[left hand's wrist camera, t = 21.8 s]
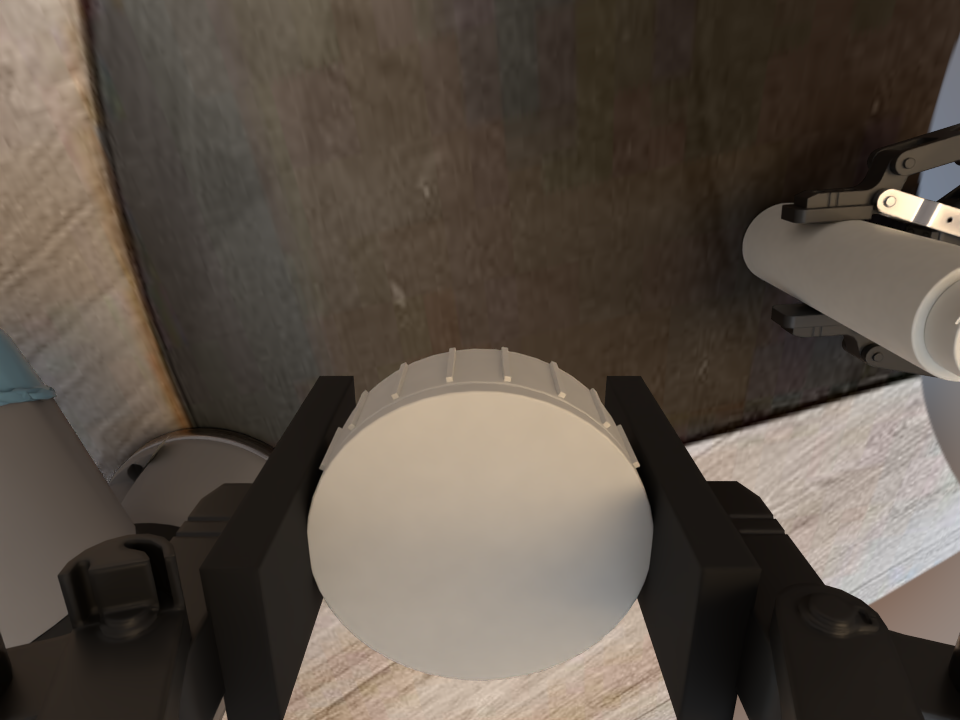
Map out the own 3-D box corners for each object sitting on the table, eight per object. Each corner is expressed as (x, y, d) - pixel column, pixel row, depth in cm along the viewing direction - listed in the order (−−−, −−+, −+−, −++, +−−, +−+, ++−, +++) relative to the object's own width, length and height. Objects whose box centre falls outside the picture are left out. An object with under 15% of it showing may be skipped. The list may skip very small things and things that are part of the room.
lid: (274, 516, 13) (239, 584, 11) (440, 281, 11) (432, 314, 9) (511, 649, 14) (516, 729, 12) (694, 455, 12) (732, 515, 10)
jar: (836, 218, 39) (1117, 296, 22) (796, 291, 41) (1029, 417, 23) (765, 191, 38) (997, 247, 21) (728, 266, 40) (915, 375, 23)
